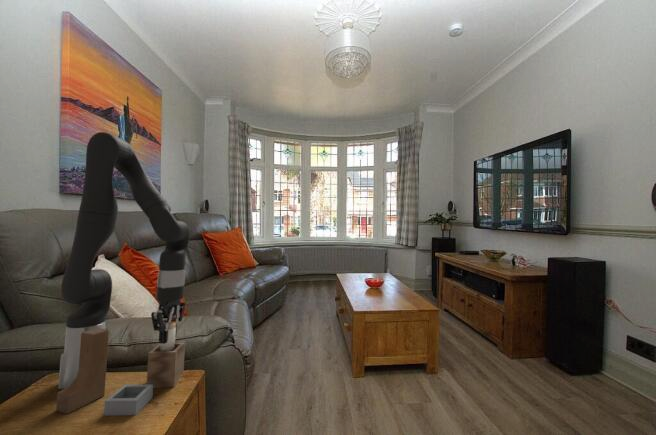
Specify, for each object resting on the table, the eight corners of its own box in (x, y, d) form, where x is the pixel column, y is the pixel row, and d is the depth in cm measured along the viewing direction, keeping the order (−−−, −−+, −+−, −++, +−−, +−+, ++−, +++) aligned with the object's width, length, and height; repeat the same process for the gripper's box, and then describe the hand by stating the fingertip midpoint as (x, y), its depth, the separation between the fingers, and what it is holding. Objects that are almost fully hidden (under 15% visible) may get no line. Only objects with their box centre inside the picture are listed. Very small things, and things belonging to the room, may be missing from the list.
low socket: (103, 415, 71) (104, 400, 71) (123, 397, 78) (124, 384, 78) (135, 414, 71) (136, 400, 71) (152, 397, 79) (153, 384, 79)
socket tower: (146, 388, 83) (148, 353, 84) (158, 375, 91) (159, 343, 91) (174, 386, 84) (175, 352, 85) (183, 374, 92) (185, 342, 92)
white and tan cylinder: (158, 356, 85) (160, 325, 86) (160, 350, 89) (162, 321, 90) (173, 354, 87) (175, 324, 87) (175, 349, 91) (176, 320, 91)
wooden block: (67, 414, 71) (72, 340, 72) (55, 411, 72) (60, 338, 73) (105, 395, 79) (109, 329, 80) (93, 392, 80) (98, 327, 82)
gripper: (173, 280, 97) (170, 331, 96) (143, 287, 82) (139, 348, 81) (194, 280, 96) (192, 333, 95) (168, 289, 82) (164, 350, 81)
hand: (167, 340), depth 88 cm, fingers closed on white and tan cylinder, 4 cm apart
